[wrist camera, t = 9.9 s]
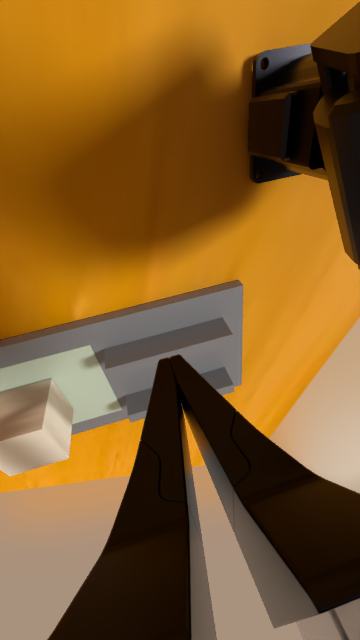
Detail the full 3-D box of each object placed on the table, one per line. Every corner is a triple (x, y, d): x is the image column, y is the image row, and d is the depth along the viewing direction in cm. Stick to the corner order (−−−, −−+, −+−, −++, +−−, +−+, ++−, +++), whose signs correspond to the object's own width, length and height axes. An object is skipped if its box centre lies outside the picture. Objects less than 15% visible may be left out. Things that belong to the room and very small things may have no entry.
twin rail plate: (238, 279, 23) (256, 300, 21) (238, 378, 32) (250, 402, 29) (-31, 348, 21) (-50, 381, 18) (48, 433, 30) (43, 465, 27)
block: (51, 378, 23) (41, 429, 19) (73, 409, 26) (68, 458, 23) (-6, 394, 23) (-28, 449, 19) (23, 423, 26) (9, 476, 22)
